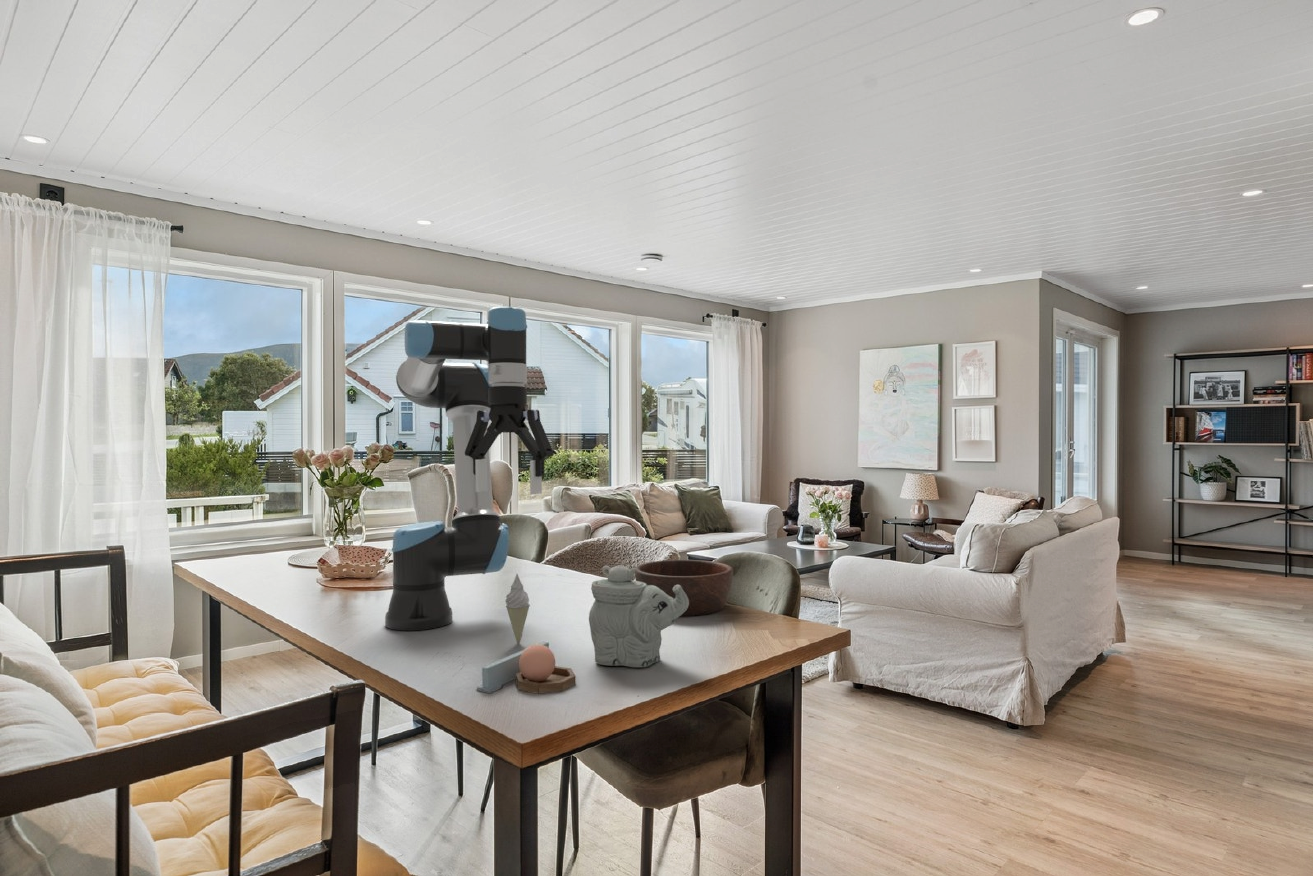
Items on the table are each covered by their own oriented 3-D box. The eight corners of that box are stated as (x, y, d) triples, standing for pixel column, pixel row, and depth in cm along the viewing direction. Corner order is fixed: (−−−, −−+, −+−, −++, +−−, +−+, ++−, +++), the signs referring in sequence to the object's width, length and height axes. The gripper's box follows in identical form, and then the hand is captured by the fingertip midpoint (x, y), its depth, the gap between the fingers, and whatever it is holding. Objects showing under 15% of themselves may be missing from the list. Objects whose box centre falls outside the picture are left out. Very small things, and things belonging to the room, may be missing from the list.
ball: (521, 691, 134) (506, 658, 135) (545, 675, 139) (530, 643, 140) (544, 683, 131) (528, 649, 131) (568, 667, 136) (552, 634, 136)
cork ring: (505, 687, 133) (505, 678, 133) (539, 671, 142) (539, 663, 142) (552, 696, 129) (552, 687, 129) (584, 679, 137) (584, 670, 137)
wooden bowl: (614, 611, 190) (614, 570, 190) (670, 593, 211) (670, 556, 211) (700, 625, 176) (699, 580, 176) (750, 604, 197) (750, 565, 197)
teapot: (692, 666, 145) (691, 567, 145) (625, 681, 136) (625, 576, 136) (644, 646, 158) (643, 556, 158) (580, 659, 150) (579, 563, 150)
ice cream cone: (507, 641, 163) (506, 571, 163) (531, 640, 163) (530, 570, 163) (504, 647, 158) (504, 575, 158) (529, 647, 158) (528, 575, 158)
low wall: (476, 690, 132) (476, 667, 132) (541, 660, 148) (541, 640, 148) (490, 693, 130) (490, 669, 130) (554, 663, 147) (554, 642, 147)
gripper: (446, 386, 153) (447, 491, 154) (548, 382, 142) (548, 496, 142) (471, 388, 160) (472, 489, 160) (570, 384, 149) (571, 493, 149)
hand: (508, 492), depth 151 cm, fingers open, 13 cm apart
